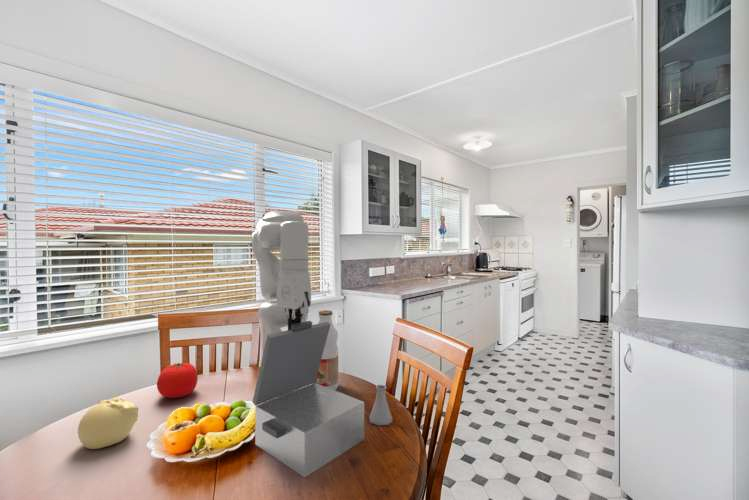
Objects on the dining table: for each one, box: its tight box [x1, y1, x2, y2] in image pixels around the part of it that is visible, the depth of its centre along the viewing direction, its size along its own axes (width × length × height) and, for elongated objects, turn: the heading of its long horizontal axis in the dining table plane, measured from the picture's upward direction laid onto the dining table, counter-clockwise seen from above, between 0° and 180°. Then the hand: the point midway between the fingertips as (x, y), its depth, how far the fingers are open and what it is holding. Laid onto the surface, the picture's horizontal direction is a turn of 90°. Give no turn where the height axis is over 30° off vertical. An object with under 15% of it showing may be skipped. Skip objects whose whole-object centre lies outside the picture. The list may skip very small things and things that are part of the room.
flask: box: [368, 384, 394, 426], centre depth 102 cm, size 7×7×10 cm
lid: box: [252, 320, 331, 406], centre depth 95 cm, size 22×20×4 cm
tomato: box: [156, 362, 199, 399], centre depth 118 cm, size 12×13×11 cm
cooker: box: [254, 383, 365, 478], centre depth 90 cm, size 20×25×10 cm
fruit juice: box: [313, 309, 339, 391], centre depth 125 cm, size 9×9×28 cm
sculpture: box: [77, 396, 139, 450], centre depth 90 cm, size 11×12×11 cm
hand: (294, 332), depth 94 cm, fingers closed
